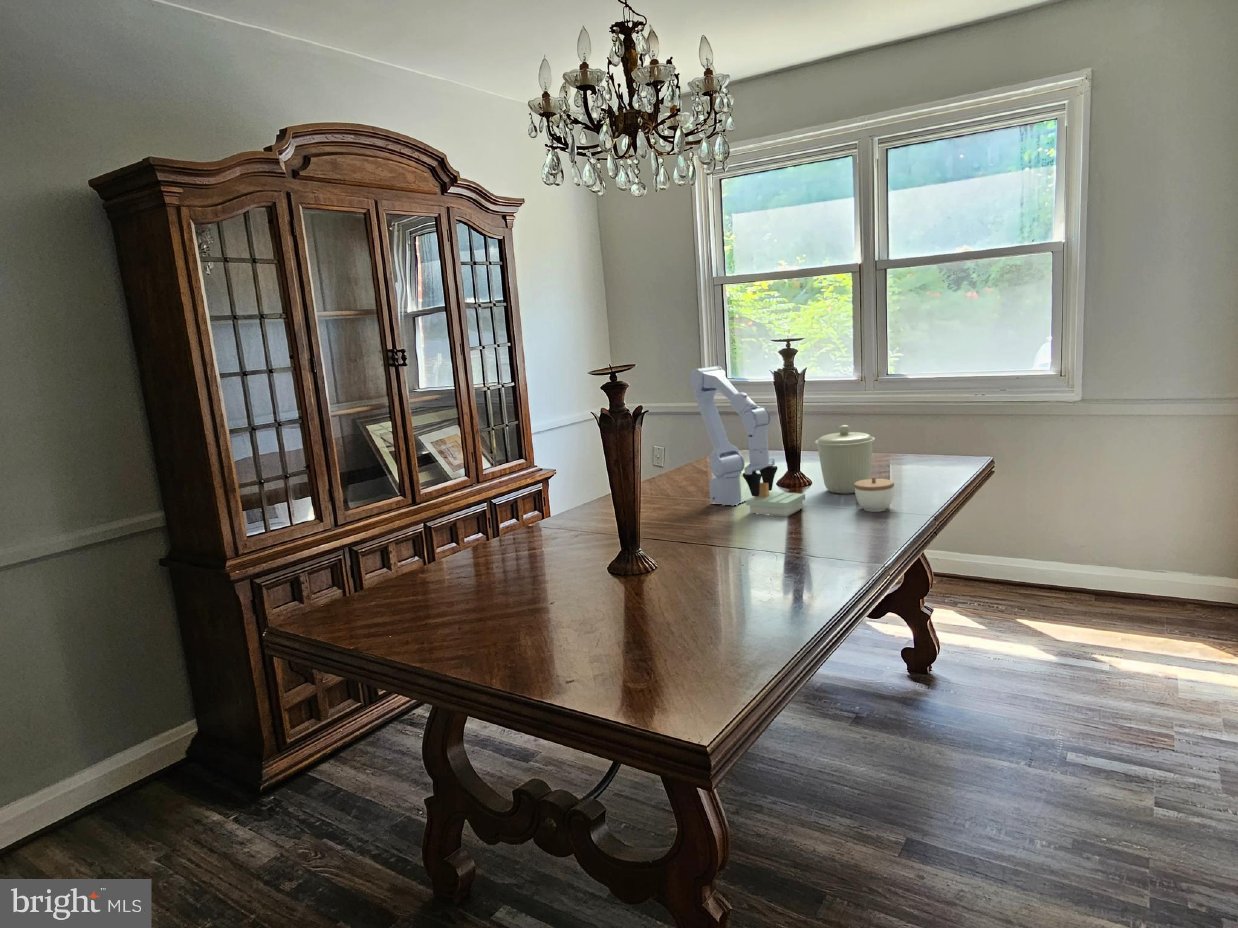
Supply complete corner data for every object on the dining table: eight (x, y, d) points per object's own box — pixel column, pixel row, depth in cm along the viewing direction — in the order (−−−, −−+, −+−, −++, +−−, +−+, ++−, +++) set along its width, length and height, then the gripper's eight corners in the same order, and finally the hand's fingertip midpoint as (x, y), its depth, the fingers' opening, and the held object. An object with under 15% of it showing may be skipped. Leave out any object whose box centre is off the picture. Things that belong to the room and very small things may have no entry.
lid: (746, 505, 226) (744, 486, 225) (765, 496, 235) (764, 478, 234) (787, 508, 218) (785, 489, 217) (805, 499, 226) (804, 480, 225)
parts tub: (750, 513, 227) (749, 502, 226) (766, 505, 234) (766, 494, 234) (786, 516, 219) (785, 504, 219) (802, 508, 227) (801, 496, 226)
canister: (806, 491, 248) (802, 427, 244) (849, 481, 255) (846, 419, 252) (844, 499, 232) (840, 431, 228) (889, 489, 239) (886, 422, 235)
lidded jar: (900, 511, 212) (899, 478, 210) (861, 515, 212) (860, 482, 211) (887, 503, 223) (886, 471, 221) (851, 506, 223) (849, 475, 221)
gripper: (758, 453, 219) (761, 499, 221) (782, 444, 229) (785, 488, 232) (736, 452, 223) (740, 498, 225) (761, 444, 234) (764, 487, 236)
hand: (761, 493), depth 229 cm, fingers open, 7 cm apart
